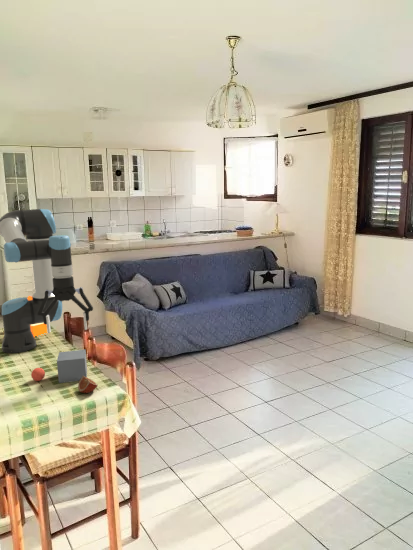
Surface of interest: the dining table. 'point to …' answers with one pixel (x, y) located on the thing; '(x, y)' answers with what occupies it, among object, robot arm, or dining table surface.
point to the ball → (38, 374)
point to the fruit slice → (86, 385)
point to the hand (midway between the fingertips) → (67, 330)
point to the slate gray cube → (71, 366)
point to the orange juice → (37, 326)
